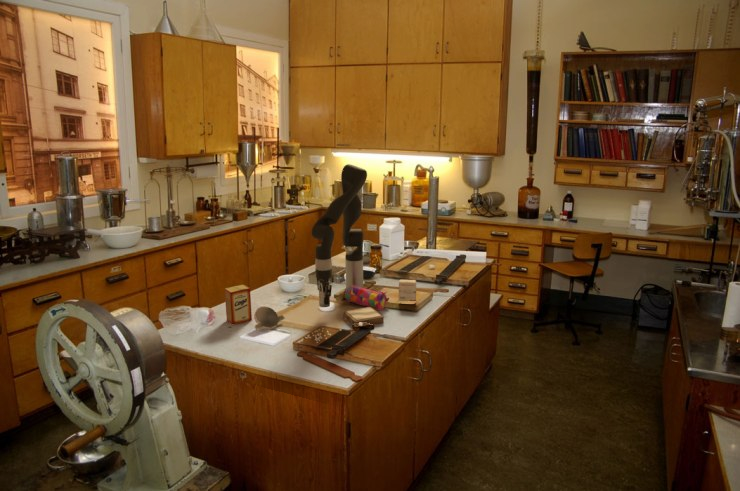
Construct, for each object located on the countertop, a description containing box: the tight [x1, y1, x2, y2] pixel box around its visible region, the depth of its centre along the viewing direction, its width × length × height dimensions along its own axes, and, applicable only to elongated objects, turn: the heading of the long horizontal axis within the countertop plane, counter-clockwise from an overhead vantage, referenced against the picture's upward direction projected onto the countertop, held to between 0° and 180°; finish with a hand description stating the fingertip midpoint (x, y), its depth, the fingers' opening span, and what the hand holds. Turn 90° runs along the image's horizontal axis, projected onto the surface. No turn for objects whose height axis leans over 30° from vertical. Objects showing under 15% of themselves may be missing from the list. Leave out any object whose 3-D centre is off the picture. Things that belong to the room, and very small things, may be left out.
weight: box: [318, 289, 331, 308], centre depth 260 cm, size 5×5×8 cm
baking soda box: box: [224, 284, 253, 325], centre depth 258 cm, size 10×6×16 cm
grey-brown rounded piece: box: [253, 306, 286, 331], centre depth 253 cm, size 15×8×11 cm, turn 138°
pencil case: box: [344, 285, 390, 311], centre depth 277 cm, size 22×9×9 cm, turn 56°
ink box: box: [398, 279, 417, 302], centre depth 280 cm, size 9×5×12 cm, turn 84°
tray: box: [342, 306, 385, 326], centre depth 260 cm, size 14×14×3 cm
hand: (324, 302), depth 261 cm, fingers closed on weight, 5 cm apart
